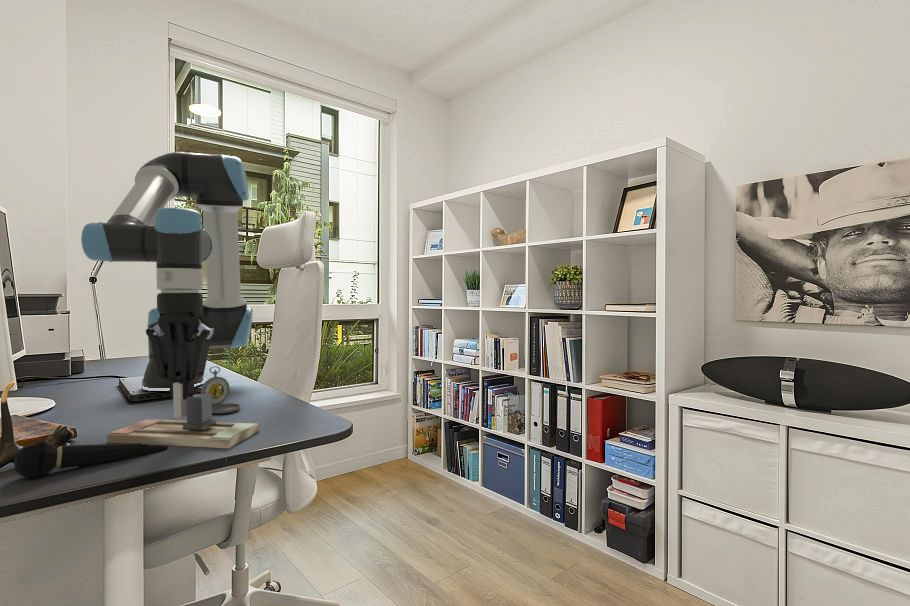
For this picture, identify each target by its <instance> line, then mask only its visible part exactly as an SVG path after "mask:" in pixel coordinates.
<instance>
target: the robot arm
mask: <svg viewBox="0 0 910 606" xmlns="http://www.w3.org/2000/svg"><path fill="white" fill-rule="evenodd" d="M246 174H247V173H246V169H245V167H244V163H243V161H242V159H240V158H239V157H237V156H233V155H232V156H231V155H225V154H214V153H213V154H212V153H201V152H200V153H199V152H197V153H196V152H186V151H176V152H169V153H166V154H162V155H159V156H157V157H155V158H152V159H151V160H149V161H147V162H146V163H144V164H143V165H142V166H141V167H140V168H139V169H138V171H137V172H136V173H135V175H134V185H133V186H132V188H131V189H130V190H129V191H128V193H127V195H126V196H125V197H124V199H123V200H122V201H121V202H120V204H119V206H117V208H116V209H115V211H114V212H113V214H112V215H111V217H110V218H109V219H108V220H107V221H106V222H102V221H98V222H90V223H86V224H85V225H84V226H83V229H82V231H81V237H80V240H81V247H82V251H83V253H84V255H85V256H86V257H87V258H88V259H89V260H91V261H95V262H97V261H99V262H108V263H112V262H119V263H120V262H121V263H122V262H126V263H128V262H132V263H133V262H135V263H136V262H138V263H140V262H141V263H142V262H143V263H144V262H145V263H147V262H148V263H156V265H155V266H156V289H157V290H158V291H160V292H158V293H157V294H156V307H155V308H152V309H150V310H149V311H148V314H147V325H146V326H147V328H146V330H145V334H146V335H147V339H148V340H147V341H148V342H147V343H148V347H147V348H148V363H147V365H146V367H145V372H144V375H143V378H142V380H141V387H142V386H144V387H148V388H170V391H169V393H170V394H169V396H170V399H172V401H173V418H174V419H181V418H184V417H187V397H188V396H191V395H194V392H195V391H194V390H195V389H194V384H197V383H201V382H202V381H203V380H204V375H205V372H206V371H205V370H206V365H207V361H208V356H209V351H210V349H223V348H224V349H226V348H227V349H228V348H229V349H234V348H243V347H245V346H247V345H248V343H249V341H250V336H251V332H252V331H251V330H252V323H253V308H252V307H250V306H248V305H247V304H248V302H247V300H246V299H245V298H244V297H242V293H241V291H242V290H241V269H240V268H241V267H240V249H239V220H238V213H239V211H240V210H242V208H243V207H244V202H245V201H248V200H249V198H250V197H249V195H250V194H249V186H248V179H247V175H246ZM178 197H179V198H181V197H182V198H195V201H196V202H195V203H196V204H195V205H196V206H197V207H198V208H199V210H201V211H202V212H203V213H202V214H203V215H201V214H200V211H197V210H195V209H192V208H183V207H166V205H167V204H168V202H170V201H173V200H174V199H175V198H178ZM202 217H203V224H202ZM203 262H205V272H206V289H207V291H206V292H207V297H206V298H205V299H204V300H203V294H202V292H200V291H202V290H203V287H204V285H203V269H202V268H203Z"/></svg>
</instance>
